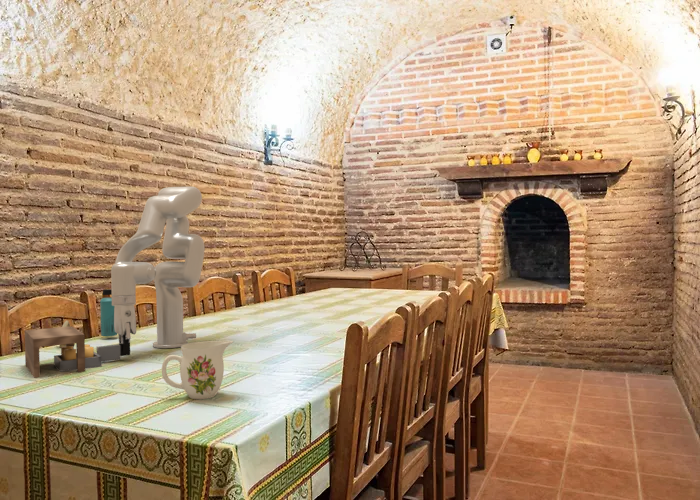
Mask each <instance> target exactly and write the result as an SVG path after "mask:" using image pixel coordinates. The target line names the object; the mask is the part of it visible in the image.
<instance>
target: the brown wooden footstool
mask: <svg viewBox="0 0 700 500" xmlns="http://www.w3.org/2000/svg"><path fill="white" fill-rule="evenodd" d="M85 336H86V335H85V334H84V333H83V332H81V331H80V330H78V329H77V328H75V327H74V326H73V325H72V326H71V325H70V327H62V326H59V327H49V328H37V329H36V328H35V329H25V330H24V350H25V351H24V355H25V356H24V357H25V360H24V361H25V368H27V370H28V371H29V373H30V374H31V376H32V377H33V378H35V379H36V378H40V377H41V372H40V371H41V368H40V367H41V366H40V365H41V364H40V347H49V346H60V345H61V344H66V346H73V349H76V353H77V370H76V371H77V372H78V373H82V372H86V368H85V343H86V342H85V341H86V340H85ZM74 343H75V344H76V348H74V347H75V344H74Z"/></svg>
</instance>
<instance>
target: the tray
mask: <svg viewBox="0 0 700 500" xmlns="http://www.w3.org/2000/svg"><path fill="white" fill-rule="evenodd" d="M121 357H122V356H121V355H120V345H119V343H118V344H109V345H100V346H99V345H98V346H96V352H95V350H94V346H91V344H88V343H87V344H85V369H92V368H99V367H102V362H111V361H121V360H122V359H121ZM53 365H54V367H55V368H56V370H58V371H59V372H68V371H77V350H76V348H74V349H73V346H65V347H61V348H60V354H59V355H53Z"/></svg>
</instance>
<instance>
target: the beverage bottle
mask: <svg viewBox="0 0 700 500" xmlns="http://www.w3.org/2000/svg"><path fill="white" fill-rule="evenodd" d="M110 295H111V296H110ZM102 296H109V297H102V298H101V299H100V301H99V302H100V306H99V307H100V323H99V325H100V335H101V337H114V336H118V333H116V332H115V329H114V309H115V306H112V288H105V289H103V290H102Z"/></svg>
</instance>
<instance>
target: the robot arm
mask: <svg viewBox="0 0 700 500" xmlns="http://www.w3.org/2000/svg"><path fill="white" fill-rule="evenodd" d="M202 200H203V195H202V192H201V191H200V189H199V188H197V187H195V186H170V187H169V186H168V187H164V188H162V189H160V190H159V191H158V193H157V195H153V196H150V197H149V198H147V200H146V202H145V205H144V208H143V211H142V214H141V217H140V221H139V224H138V228H137V231H136V232H135V234H134V235H132V236H131V237H130V238H129V239H128V240H127V241H126V242H125V243H124V244H123V245H122V246H121V248H120V249H119V251H118V252H117V256H116V259H115V261H114V264H113V265H111V269H110V272H111V273H110V274H111V275H110V277H111V279H110V280H111V289H112V295H111V297H112V306H115V309H114V329H115V332H116V333H117V336H118V344H119V345H120V355H121V357H125V356H131V339H132V338H131V335H136V334H137V321H136V317H137V316H136V308H135V305H136V304H137V301H136V299H137V295H136V291H137V289H136V285H137V284H140V285H142V284H143V285H144V284H145V285H146V284H149V283H151V282H152V281H153V283H154V287H155V293H156V294H155V295H156V341H154V342H152V347H153V348H156V349H157V348H158V349H174V348H175V349H177V348H181V346H182V345H184V344H188V343H189V341H188V340H189V339H197V333H186V332H184V299H183V298H184V297H183V294H182V293H181V290H180V288H194V287H196V286H197V285H198V283H199V282H200V278H201V277H202V268H203V262H204V256H205V243H204V239H203V238H202V236H200V235H199V234H195V233H189V230H190V220H189V218H188V216H187V215H189V214H191V213H192V212H194V211H196V210H197V209H198V208H199V207H200V205H202ZM164 230H165V231H164ZM163 233H164V235H163ZM162 236H164V237H163V242H162V251H161V252H162V254H163V256H164V257H165V258H167V259H172V261H162V262H159V263H158V264H156V265H155V266H154V265H153V264H152V263H150V262H147V261H133V260H134V259H135V258H136V256H137V255H138V254H139V253H140V252H141V251H143V250H145V249H147V248H149V247H151V246H153V245H155V244H157V243H159V242H160V241H161V240H162ZM173 260H185V261H173Z"/></svg>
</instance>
